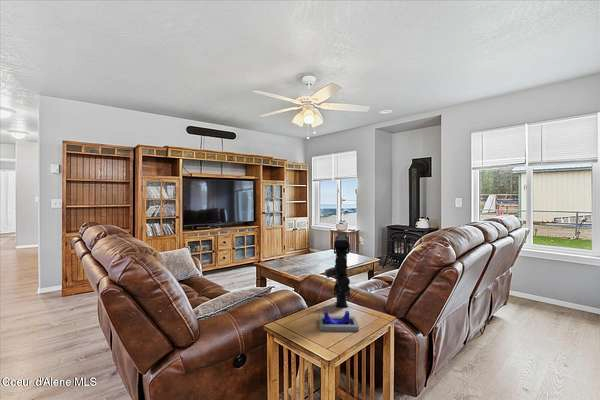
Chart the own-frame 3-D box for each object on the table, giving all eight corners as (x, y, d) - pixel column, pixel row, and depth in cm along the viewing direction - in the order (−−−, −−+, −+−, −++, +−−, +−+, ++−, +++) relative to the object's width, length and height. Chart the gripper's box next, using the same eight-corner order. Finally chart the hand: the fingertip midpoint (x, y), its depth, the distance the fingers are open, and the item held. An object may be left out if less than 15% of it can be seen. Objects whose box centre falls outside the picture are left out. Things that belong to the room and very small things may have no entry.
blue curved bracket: (324, 326, 141) (325, 314, 141) (324, 322, 146) (324, 310, 146) (349, 326, 141) (349, 314, 141) (348, 322, 146) (348, 310, 146)
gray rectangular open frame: (318, 319, 148) (318, 316, 148) (354, 320, 148) (354, 316, 148) (320, 330, 136) (320, 326, 136) (358, 331, 136) (358, 327, 136)
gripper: (324, 259, 163) (324, 287, 163) (327, 267, 145) (327, 298, 145) (344, 259, 163) (344, 287, 163) (350, 267, 144) (349, 299, 145)
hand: (341, 292), depth 154 cm, fingers open, 9 cm apart
